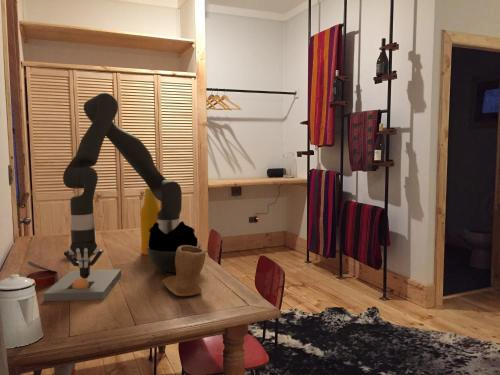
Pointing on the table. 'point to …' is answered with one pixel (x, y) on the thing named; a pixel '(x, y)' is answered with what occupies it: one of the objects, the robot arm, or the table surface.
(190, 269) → the tan suede boot
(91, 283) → the grey flat block
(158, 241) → the bowl of black rocks
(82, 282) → the ball
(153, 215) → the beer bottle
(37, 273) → the canned food
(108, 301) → the table surface
